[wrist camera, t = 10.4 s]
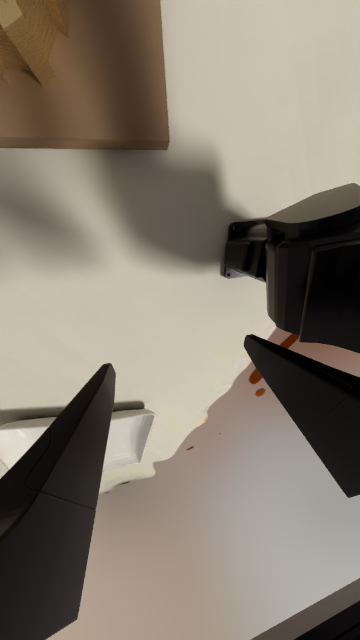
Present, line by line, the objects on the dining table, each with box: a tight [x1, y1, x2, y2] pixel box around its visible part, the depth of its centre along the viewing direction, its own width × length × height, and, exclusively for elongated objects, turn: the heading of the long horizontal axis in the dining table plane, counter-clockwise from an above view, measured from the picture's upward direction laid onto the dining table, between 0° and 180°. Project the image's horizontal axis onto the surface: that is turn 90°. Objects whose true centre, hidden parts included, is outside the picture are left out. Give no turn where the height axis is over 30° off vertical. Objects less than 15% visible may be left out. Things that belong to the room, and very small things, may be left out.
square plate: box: [0, 409, 156, 472], centre depth 33 cm, size 27×27×4 cm
